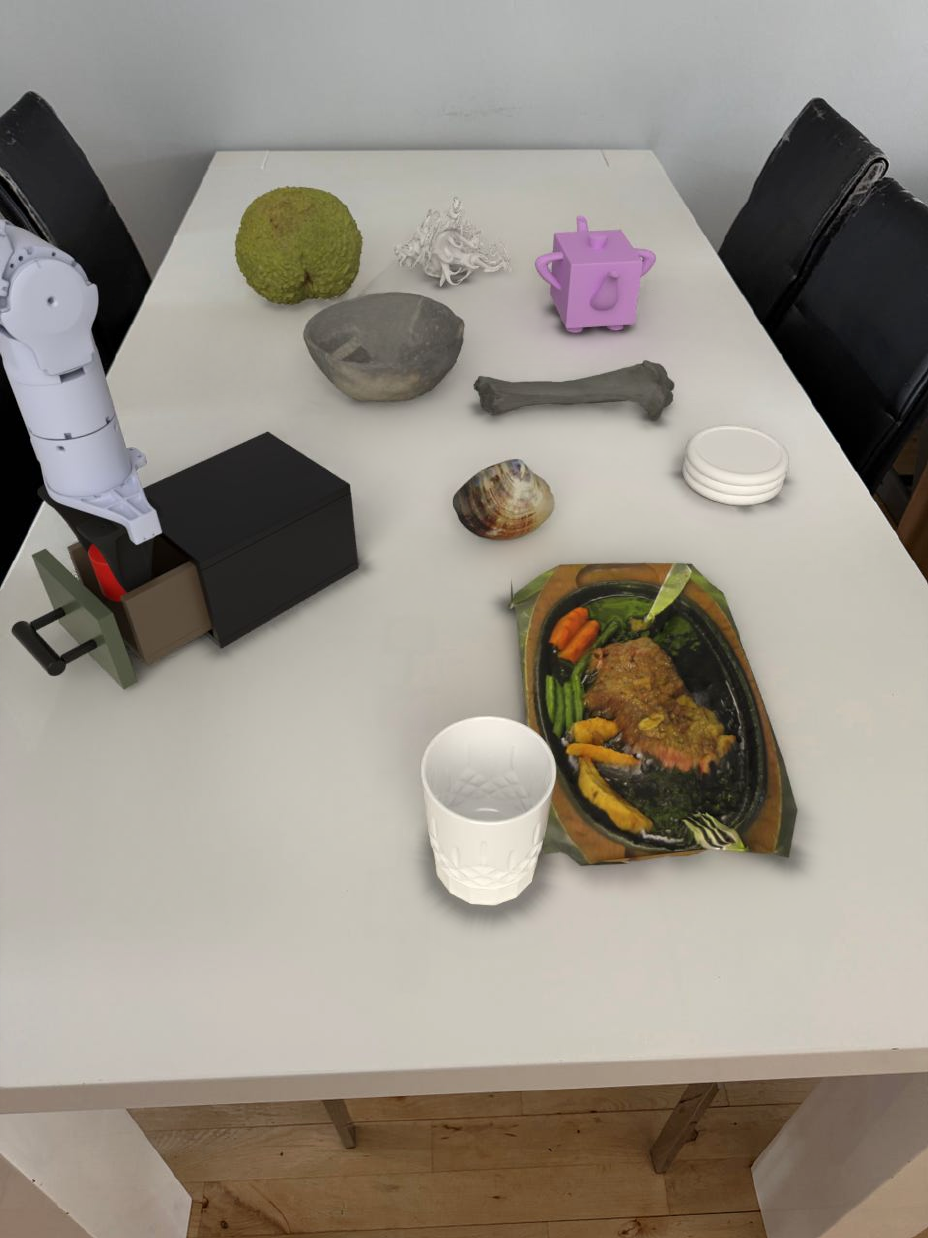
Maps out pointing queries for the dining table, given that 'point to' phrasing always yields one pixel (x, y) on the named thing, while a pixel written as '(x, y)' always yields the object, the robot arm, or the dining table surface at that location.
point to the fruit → (298, 245)
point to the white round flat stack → (735, 465)
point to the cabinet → (258, 531)
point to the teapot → (594, 277)
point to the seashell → (504, 501)
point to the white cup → (487, 806)
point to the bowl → (385, 345)
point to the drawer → (117, 613)
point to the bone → (582, 390)
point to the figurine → (448, 247)
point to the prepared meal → (648, 716)
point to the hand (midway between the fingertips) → (122, 572)
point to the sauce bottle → (105, 576)
